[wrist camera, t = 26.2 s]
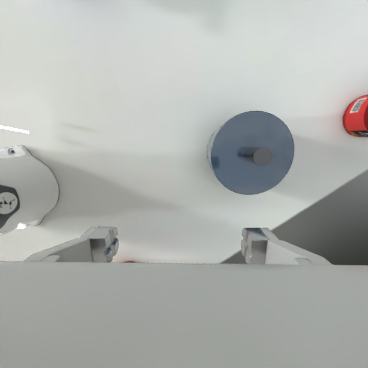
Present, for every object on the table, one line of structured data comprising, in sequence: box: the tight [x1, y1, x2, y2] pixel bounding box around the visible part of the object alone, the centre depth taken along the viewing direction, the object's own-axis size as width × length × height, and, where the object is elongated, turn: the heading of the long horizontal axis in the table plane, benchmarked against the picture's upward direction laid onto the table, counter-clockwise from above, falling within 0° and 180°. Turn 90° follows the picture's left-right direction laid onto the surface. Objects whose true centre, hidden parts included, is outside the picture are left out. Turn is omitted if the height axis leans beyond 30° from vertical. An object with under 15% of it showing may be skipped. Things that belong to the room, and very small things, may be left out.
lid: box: [210, 111, 294, 195], centre depth 28 cm, size 13×13×5 cm
